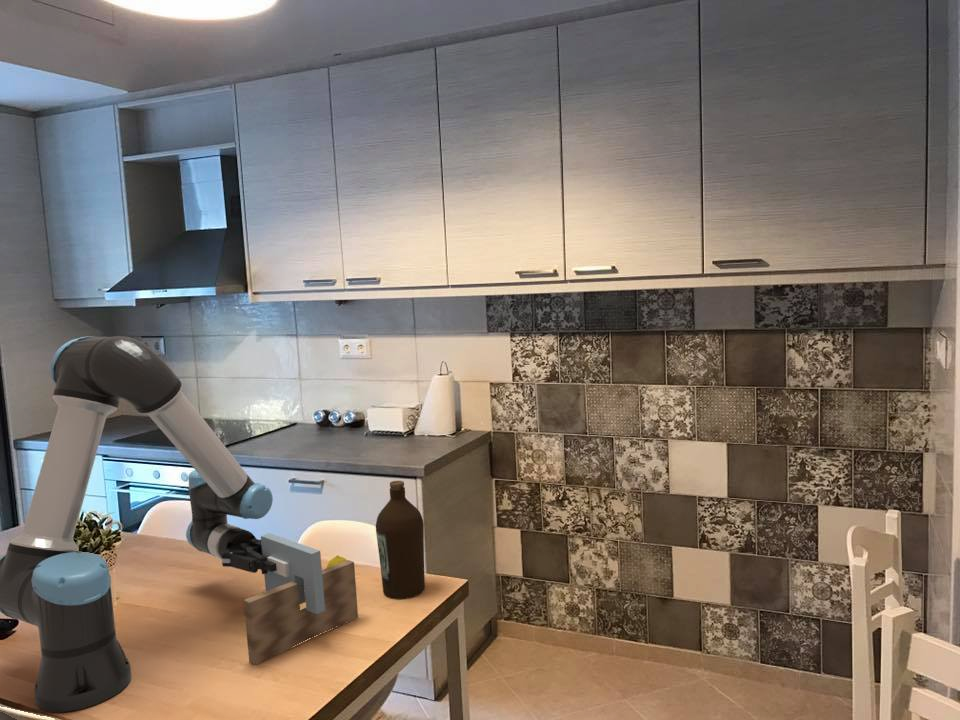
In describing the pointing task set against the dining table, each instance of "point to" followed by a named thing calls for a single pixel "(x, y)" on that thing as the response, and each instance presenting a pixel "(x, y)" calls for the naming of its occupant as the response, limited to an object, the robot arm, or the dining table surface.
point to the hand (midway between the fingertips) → (293, 567)
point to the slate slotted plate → (296, 570)
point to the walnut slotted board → (298, 613)
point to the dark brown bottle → (401, 546)
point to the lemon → (336, 561)
